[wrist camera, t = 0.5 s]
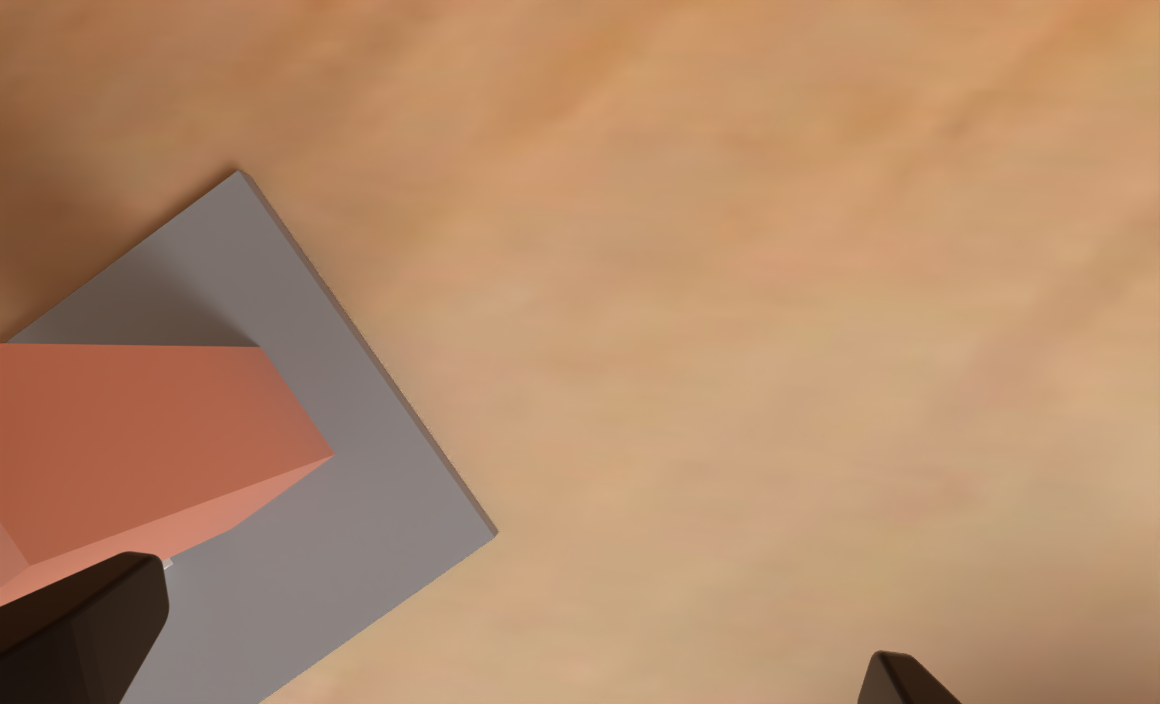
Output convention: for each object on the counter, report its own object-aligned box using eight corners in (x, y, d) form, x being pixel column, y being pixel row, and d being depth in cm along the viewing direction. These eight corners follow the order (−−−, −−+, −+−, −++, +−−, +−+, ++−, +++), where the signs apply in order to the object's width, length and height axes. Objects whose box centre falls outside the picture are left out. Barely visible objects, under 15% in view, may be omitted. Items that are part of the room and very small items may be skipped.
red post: (230, 529, 24) (-183, 720, 12) (157, 422, 24) (-330, 497, 12) (335, 454, 24) (30, 566, 11) (260, 346, 24) (-122, 341, 12)
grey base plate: (38, 854, 25) (-19, 904, 23) (-194, 504, 26) (-274, 519, 23) (498, 531, 24) (486, 549, 22) (250, 175, 25) (213, 158, 23)
